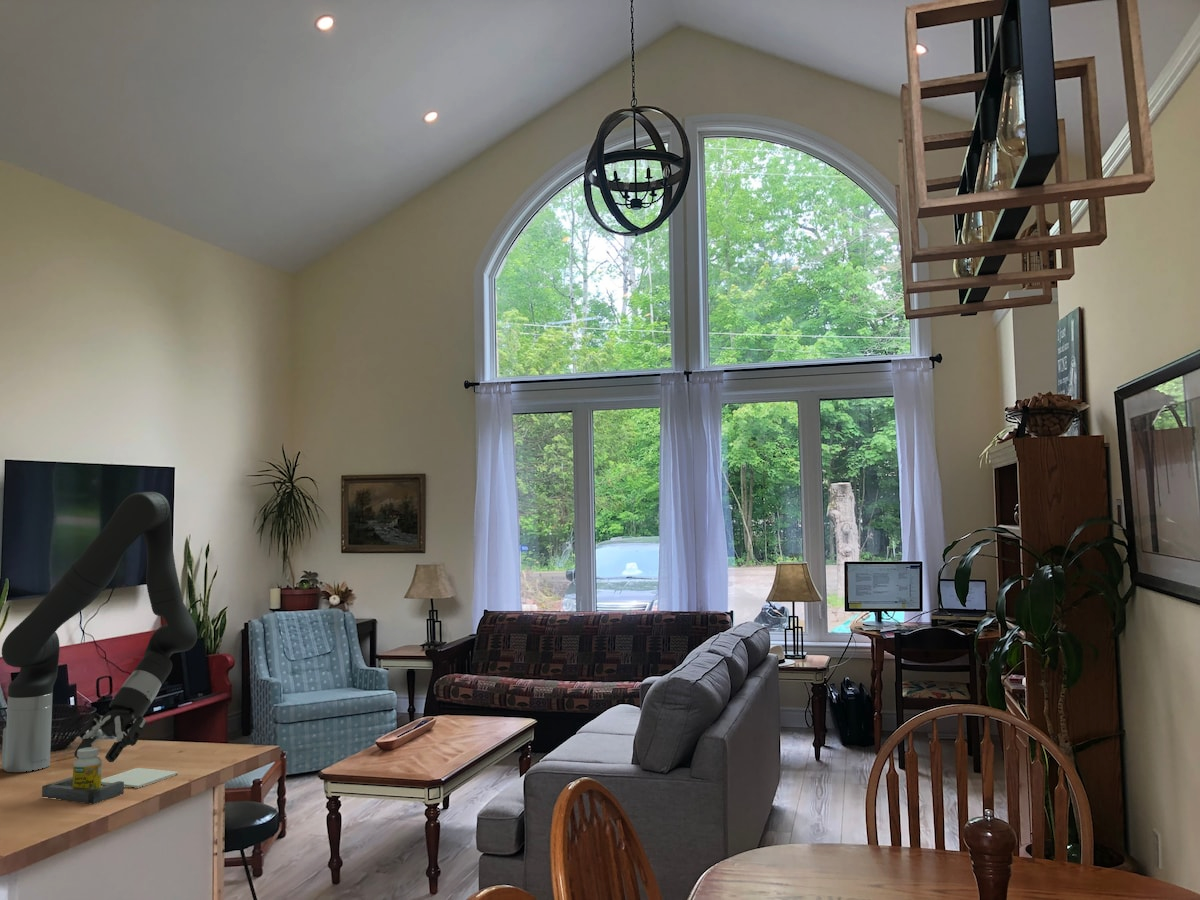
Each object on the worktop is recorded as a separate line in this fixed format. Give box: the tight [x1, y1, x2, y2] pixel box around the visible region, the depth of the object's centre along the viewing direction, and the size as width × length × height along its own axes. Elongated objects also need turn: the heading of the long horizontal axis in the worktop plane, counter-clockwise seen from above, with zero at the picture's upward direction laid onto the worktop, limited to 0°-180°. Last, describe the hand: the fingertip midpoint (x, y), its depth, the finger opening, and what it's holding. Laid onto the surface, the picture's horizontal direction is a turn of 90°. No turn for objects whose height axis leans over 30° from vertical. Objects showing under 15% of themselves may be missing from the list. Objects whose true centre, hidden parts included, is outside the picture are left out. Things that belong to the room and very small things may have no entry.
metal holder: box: [41, 776, 125, 805], centre depth 199 cm, size 14×8×2 cm, turn 72°
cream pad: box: [101, 767, 180, 789], centre depth 211 cm, size 12×12×1 cm
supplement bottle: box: [72, 746, 103, 789], centre depth 200 cm, size 5×5×10 cm
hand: (93, 758), depth 201 cm, fingers open, 8 cm apart
